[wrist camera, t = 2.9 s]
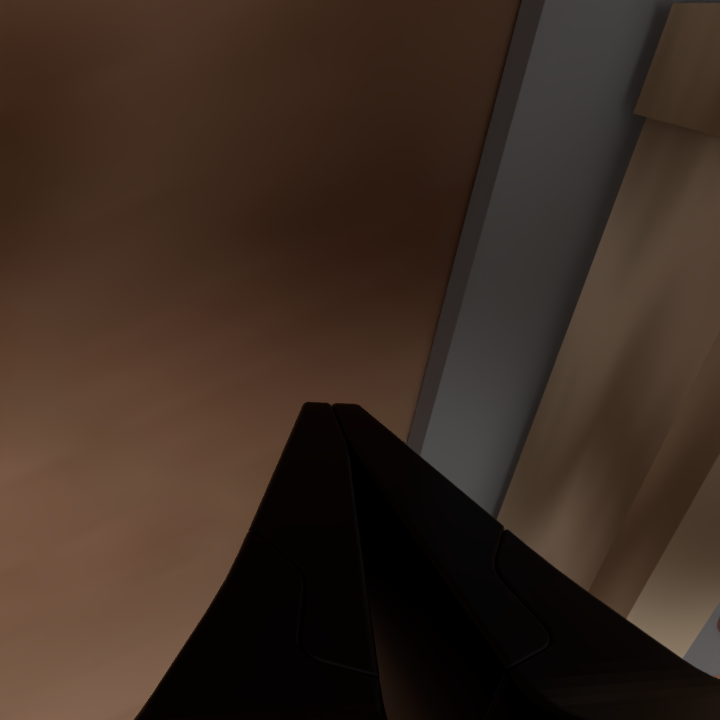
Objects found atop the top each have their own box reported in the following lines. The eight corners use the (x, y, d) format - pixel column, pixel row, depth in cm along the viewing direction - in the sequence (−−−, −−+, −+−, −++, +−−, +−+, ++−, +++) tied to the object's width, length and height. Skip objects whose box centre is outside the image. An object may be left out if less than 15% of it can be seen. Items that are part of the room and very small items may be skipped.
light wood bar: (505, 618, 18) (587, 802, 14) (449, 621, 18) (517, 811, 14) (757, 23, 11) (1094, 34, 7) (673, 3, 10) (974, 1, 6)
